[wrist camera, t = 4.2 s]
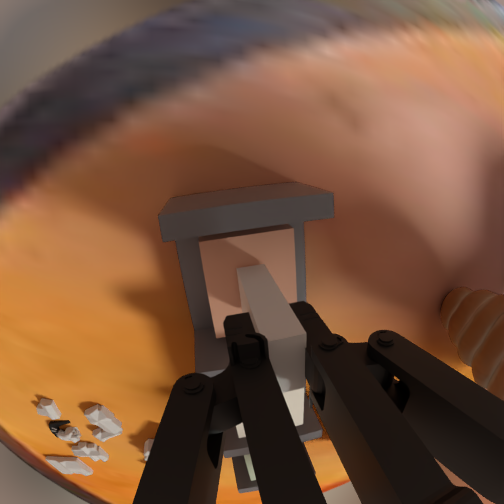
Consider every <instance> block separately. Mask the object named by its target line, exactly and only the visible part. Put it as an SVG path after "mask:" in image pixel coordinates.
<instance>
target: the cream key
mask: <svg viewBox="0 0 504 504" xmlns="http://www.w3.org/2000/svg"><path fill="white" fill-rule="evenodd" d="M283 396H284V398H285V401H286V403H287V406H288V409H289V411H290V414H291V416H292V419H293V421H294V424H295V426H298V425H302V424H303V413H304V388H301V389H297V390H293V391H289V392H284V393H283ZM236 429H237V432H238V436H239V438H242V437H246V435H245V431H244V426H243V423H241V424H239V425H237V426H236Z"/></svg>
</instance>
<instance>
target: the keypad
mask: <svg viewBox="0 0 504 504" xmlns="http://www.w3.org/2000/svg"><path fill="white" fill-rule="evenodd" d="M328 218H334V196H333V193H332V192H329V191H326V190H322V189H319V188H316V187H312V186H309V185H305V184H302V183H299V182H289V183H279V184H269V185H260V186H252V187H243V188H235V189H228V190H220V191H213V192H206V193H199V194H193V195H186V196H180V197H174V198H170V199H169V201H168V202H167V203H166V205H165V206H164V208H163V209H162V211H161V212H160V214H159V215H158V219H159V224H160V230H161V235H162V241H163V242H168V241H174V240H175V242H176V247H177V252H178V258H179V263H180V268H181V273H182V277H183V282H184V287H185V292H186V296H187V301H188V305H189V309H190V314H191V318H192V322H193V326H194V338H195V373H202V374H205V375H207V376H209V377H210V378H211V377H213V376H216V375H218V374H220V373H221V372H223V371H224V370H225V369H226V368H227V366H228V364H229V354H228V349H227V343H226V337H222V338H216V334H215V329H214V324H213V319H212V314H211V309H210V304H209V298H208V293H207V287H206V282H205V276H204V271H203V265H202V259H201V253H200V247H199V237H200V236H206V235H213V234H219V233H226V232H233V231H240V230H246V229H253V228H261V227H268V226H275V225H282V224H289V225H290V226H291V227H293V228H294V243H295V262H296V286H297V302H299V301H305V302H306V268H305V240H304V221H312V220H320V219H328ZM305 392H306V387H305V388H304V413H303V424H302V425H298V426H296V429H297V431H298V434H299V437H300V439H301V442H302V444H303V447H304V449H305V452H306V454H307V456H308V459H309V461H310V464H311V466H312V469H313V471H314V474H315V473H316V472H315V470H314V467H313V465H312V462H311V460H310V457H309V455H308V452H307V450H306V447H305V445H304V442H306V441H309V440H313V439H316V438H319V437H322V430H323V429H322V427H321V425H320V423H319V421H318V419H317V417H316V414H315V412H314V410H313V408H309V399H308V397H307V395H306V393H305ZM248 454H250V452H249V448H248V444H247V440H246V437H242V438H239V436H238V432H237V429H236V426H234V427H232V428H230V429H228V430H226V439H225V445H224V452H223V455H224V457H225V458H229V457H232V461H233V467H234V472H235V477H236V482H237V488H238V491H239V493H245V492H251V491H257V490H259V489H258V485H257V481H256V480H253V481H251V479H250V476H249V472H248V469H247V465H246V462H245V458H244V455H248Z"/></svg>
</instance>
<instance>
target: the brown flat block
mask: <svg viewBox="0 0 504 504" xmlns="http://www.w3.org/2000/svg"><path fill="white" fill-rule="evenodd" d="M199 247H200V253H201V259H202V265H203V271H204V276H205V282H206V287H207V293H208V298H209V304H210V309H211V314H212V319H213V324H214V329H215V334H216V338H222V337H225V332H224V326H223V322H224V320H225V318H226V316H228V315H234V314H240V313H242V307H241V299H240V292H239V284H238V277H237V269H236V268H241V267H247V266H253V265H259V264H265V266H266V268H267V269H268V271H269V273H270V274H271V276H272V277H273V279H274V281H275V282H276V284H277V286H278V287H279V289H280V291H281V292H282V294H283V296H284V297H285V299H286V300H287V302H288V304H289V303H294V302H297V286H296V262H295V243H294V228H293V227H291V226H290V225H289V224H282V225H275V226H268V227H261V228H253V229H246V230H240V231H233V232H226V233H219V234H213V235H206V236H200V237H199Z"/></svg>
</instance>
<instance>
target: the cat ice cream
mask: <svg viewBox="0 0 504 504" xmlns="http://www.w3.org/2000/svg"><path fill="white" fill-rule="evenodd" d="M441 321H442V324H443V326H444V328H445V329H447V330H448V333H449V337H450V339H451V341H452V343H453V344H454V345H455V346H456V347H457V349H458V355H459V357H460V359H461V361H462V362H463V363H465V364H466V365H468V366H471V367H472V373H473V377H474V380H475V382H476V383H477V384H478V385H479V386H481V387H483V388H486V389H487V391H489V392H490V393H492V394H493V395H495V396H497V397H498V398H500V399H501V400H503V401H504V294H500V295H497V294H495V293H493V292H491V291H489V290H477V291H472V290H471V289H469V288H467V287H460V288H456V289H454V290H452V291H451V292H450V293H449V294H448V295H447V296H446V298H445V299H444V301H443V304H442V307H441Z"/></svg>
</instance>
